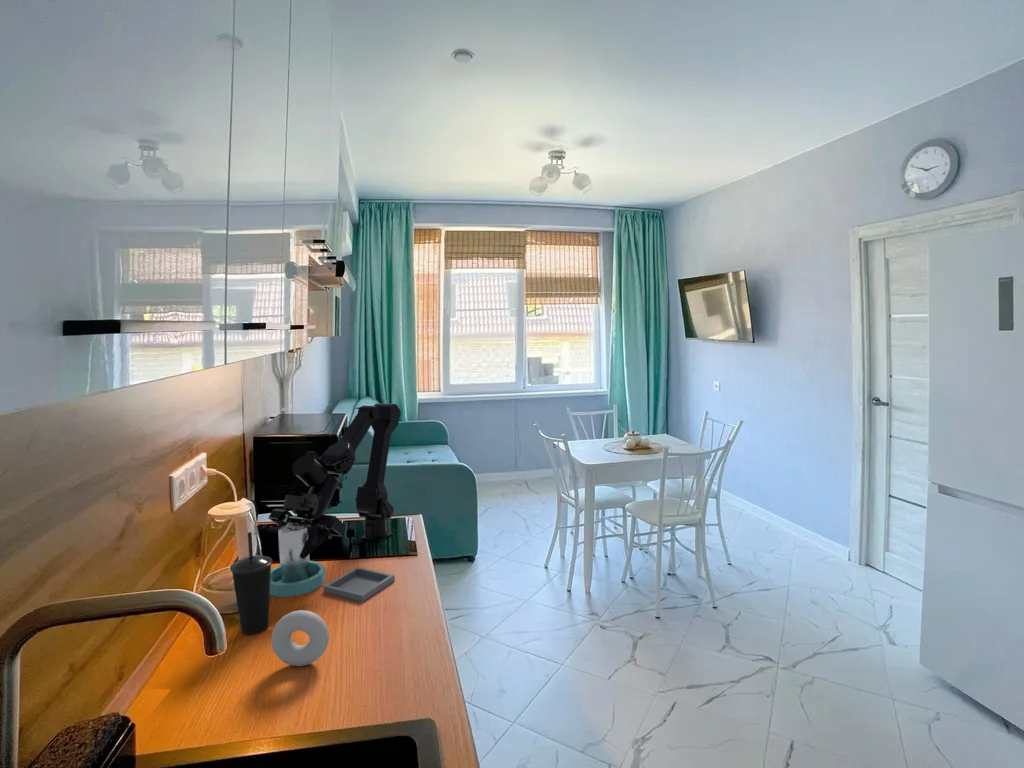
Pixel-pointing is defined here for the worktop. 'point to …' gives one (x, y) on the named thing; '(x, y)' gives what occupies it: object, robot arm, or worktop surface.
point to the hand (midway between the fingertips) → (290, 556)
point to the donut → (292, 651)
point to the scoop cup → (293, 553)
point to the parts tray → (359, 584)
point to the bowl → (298, 587)
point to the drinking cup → (252, 590)
